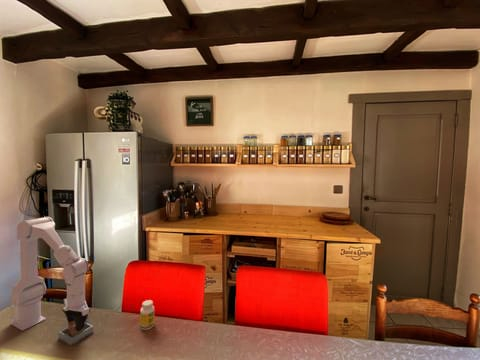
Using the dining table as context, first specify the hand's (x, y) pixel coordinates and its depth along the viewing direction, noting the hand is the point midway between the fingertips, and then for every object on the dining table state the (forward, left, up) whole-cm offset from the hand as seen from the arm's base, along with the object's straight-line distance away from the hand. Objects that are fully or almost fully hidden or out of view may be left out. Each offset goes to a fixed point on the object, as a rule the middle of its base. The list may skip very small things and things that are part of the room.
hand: (76, 327), depth 89 cm
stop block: (0, 0, -3) cm, 3 cm away
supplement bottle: (+20, +16, -3) cm, 26 cm away
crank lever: (-8, +7, -3) cm, 11 cm away
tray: (0, 0, -3) cm, 3 cm away
